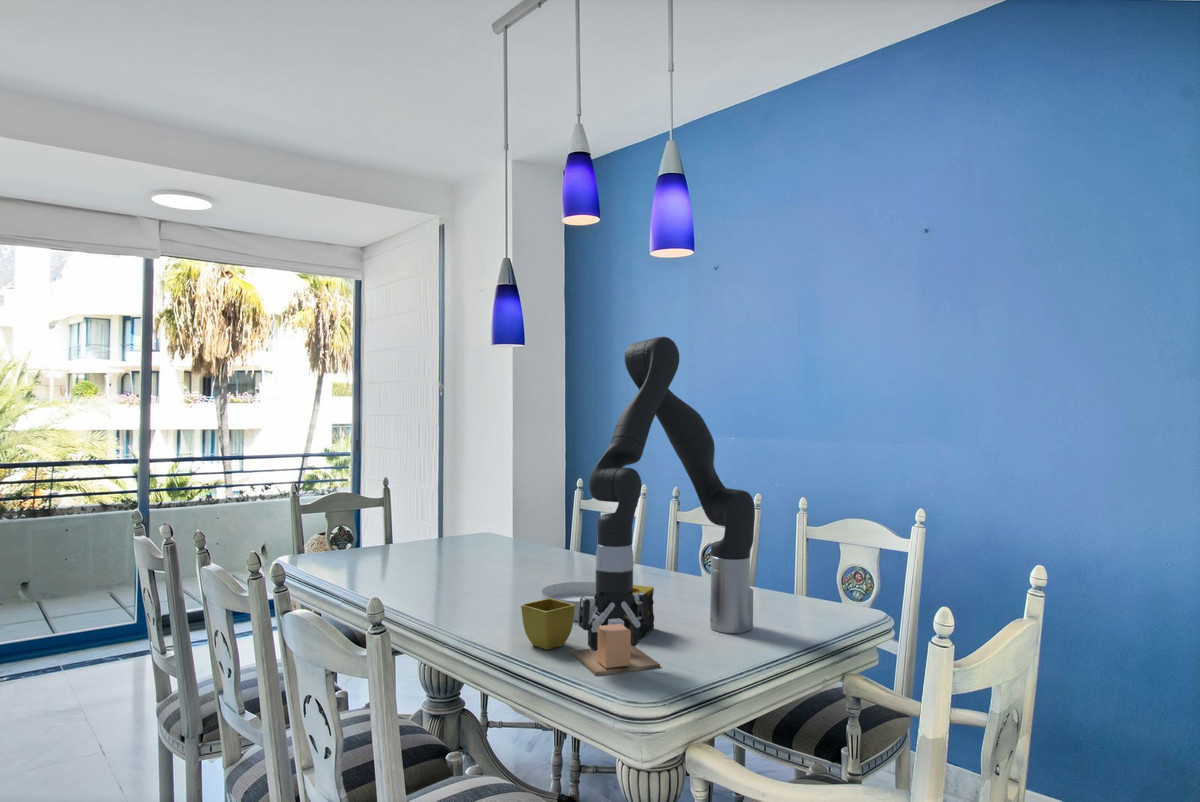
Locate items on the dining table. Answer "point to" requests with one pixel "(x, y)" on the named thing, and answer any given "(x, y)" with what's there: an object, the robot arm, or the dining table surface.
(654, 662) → the board
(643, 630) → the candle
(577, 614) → the dish
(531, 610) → the flower pot
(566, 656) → the dining table surface
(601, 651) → the salmon pink brick
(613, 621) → the metal post
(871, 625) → the dining table surface
